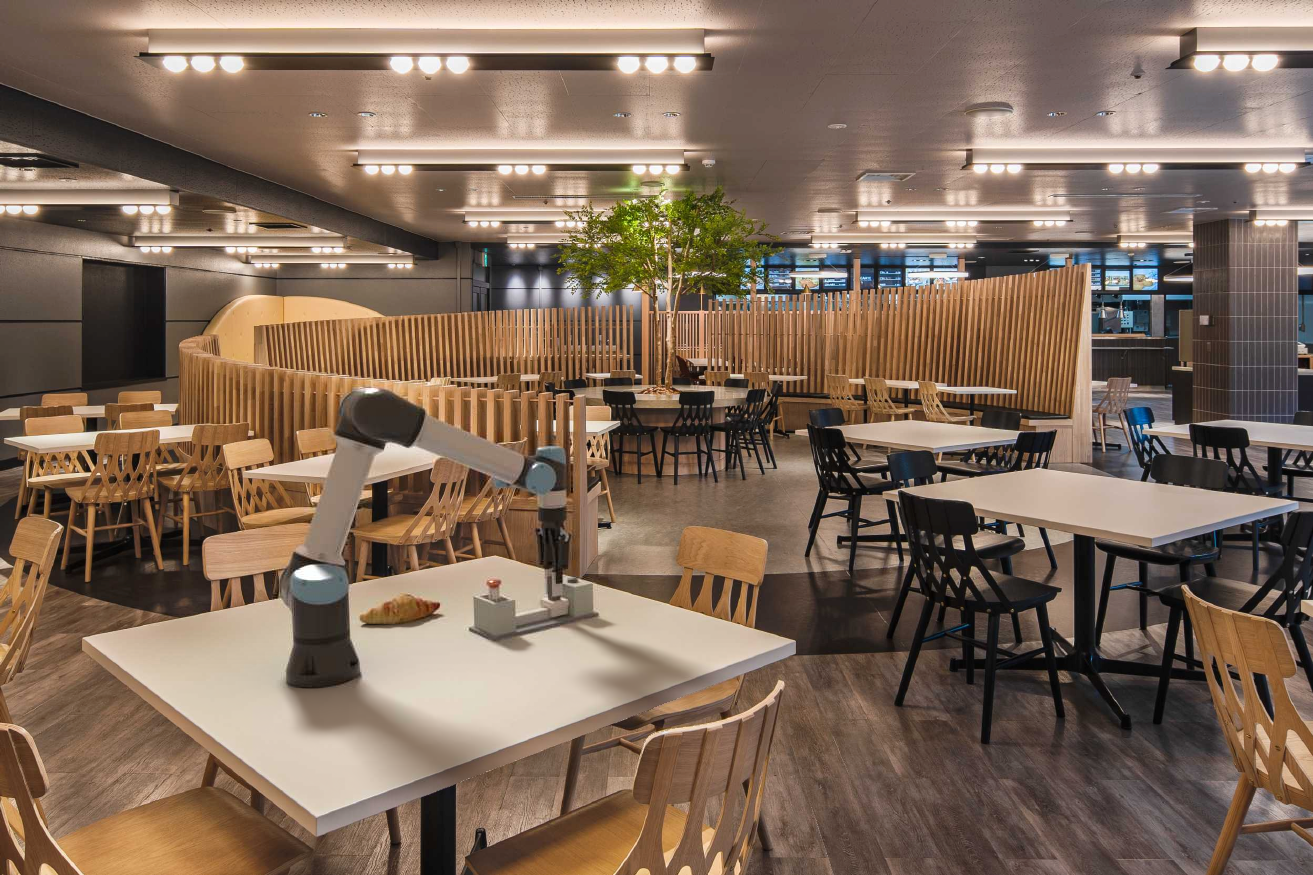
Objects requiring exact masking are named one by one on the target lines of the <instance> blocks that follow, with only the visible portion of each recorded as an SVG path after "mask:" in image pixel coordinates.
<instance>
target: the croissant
mask: <svg viewBox="0 0 1313 875" xmlns="http://www.w3.org/2000/svg"><path fill="white" fill-rule="evenodd" d="M440 607H441V603H440V602H439V601H432V600H430V599H429V600H427V599H425V600H423V599H422V598H421V597H414V596H412V595H411V594H407V593H401V594H399V595H397V596H396V597H394V598H393V599H392V600H388V601H384V602H382V603H381V604H380V605H378V606H377V607H374V608H370V609H369V610H367V612H366V613H363V614H360V615H359V617H358V619H359V622H361V623H364V624H368V625H369V624H371V625H398V624H402V623H410V622H413V621H416V620H418V619H423V618H425V617H428V616H430V615H433V614H434V613H436V611H438V610H439V609H440Z"/></svg>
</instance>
